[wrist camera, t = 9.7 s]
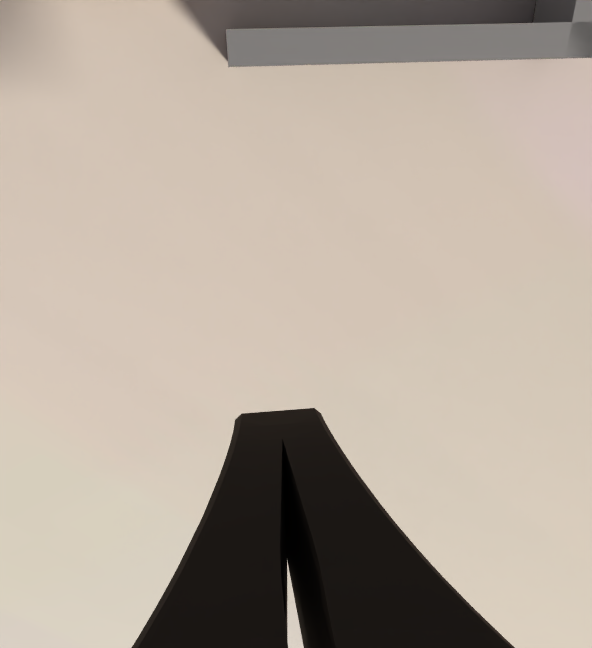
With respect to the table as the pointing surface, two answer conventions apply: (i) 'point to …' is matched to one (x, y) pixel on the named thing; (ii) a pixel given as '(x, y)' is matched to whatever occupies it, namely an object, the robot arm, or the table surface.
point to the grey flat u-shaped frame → (421, 41)
